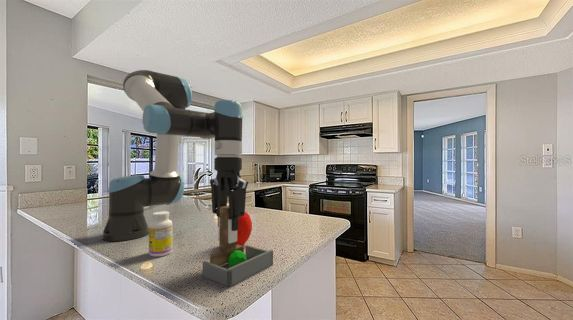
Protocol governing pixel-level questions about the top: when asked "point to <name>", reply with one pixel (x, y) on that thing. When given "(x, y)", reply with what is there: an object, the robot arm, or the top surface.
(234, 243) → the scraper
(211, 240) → the top surface
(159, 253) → the supplement bottle
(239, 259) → the polyhedron
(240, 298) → the top surface
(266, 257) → the tray
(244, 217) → the apple
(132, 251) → the top surface
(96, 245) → the top surface
